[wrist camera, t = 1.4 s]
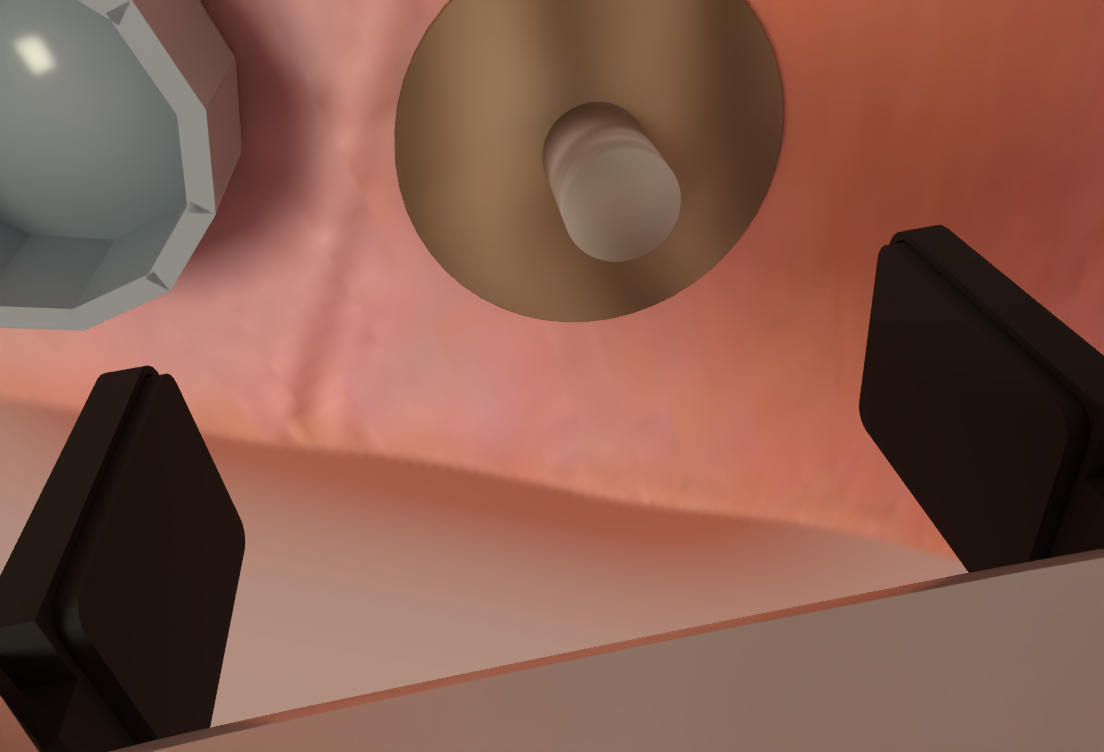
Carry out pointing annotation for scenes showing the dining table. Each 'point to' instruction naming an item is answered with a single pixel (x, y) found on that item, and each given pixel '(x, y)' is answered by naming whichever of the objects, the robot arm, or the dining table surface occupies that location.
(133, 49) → the bowl
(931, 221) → the dining table surface
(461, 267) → the lid
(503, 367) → the dining table surface
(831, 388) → the dining table surface
